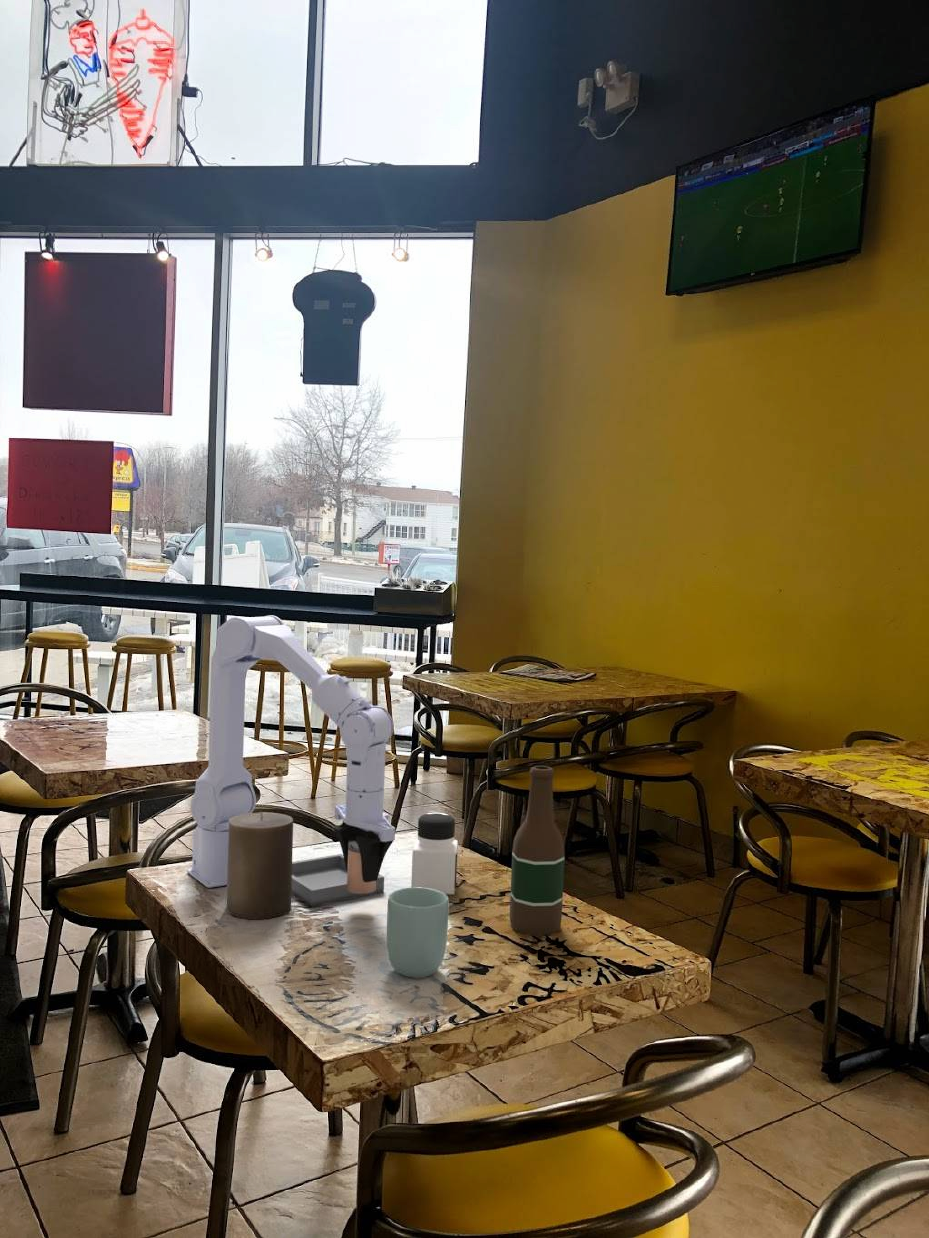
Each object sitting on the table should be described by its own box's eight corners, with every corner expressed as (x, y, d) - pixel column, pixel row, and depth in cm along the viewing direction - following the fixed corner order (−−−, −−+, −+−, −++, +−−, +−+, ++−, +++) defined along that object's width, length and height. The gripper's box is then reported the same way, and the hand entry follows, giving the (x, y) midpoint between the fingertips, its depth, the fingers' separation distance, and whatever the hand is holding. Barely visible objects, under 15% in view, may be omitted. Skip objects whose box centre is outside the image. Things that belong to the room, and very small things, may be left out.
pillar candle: (290, 919, 147) (294, 819, 146) (222, 920, 145) (226, 819, 145) (291, 897, 156) (294, 803, 156) (228, 898, 155) (231, 803, 154)
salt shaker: (341, 886, 152) (343, 838, 151) (366, 882, 154) (368, 834, 154) (356, 895, 148) (357, 846, 148) (381, 890, 151) (383, 842, 150)
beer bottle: (558, 939, 143) (566, 775, 142) (505, 933, 145) (512, 770, 143) (563, 920, 151) (571, 764, 149) (513, 914, 152) (519, 760, 151)
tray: (271, 880, 164) (271, 865, 164) (340, 868, 171) (341, 853, 171) (311, 906, 152) (312, 890, 152) (383, 892, 160) (384, 876, 160)
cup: (413, 954, 136) (416, 882, 135) (457, 971, 131) (460, 897, 130) (373, 971, 130) (376, 896, 129) (418, 989, 125) (420, 912, 124)
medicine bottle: (455, 895, 160) (458, 822, 159) (410, 893, 160) (413, 820, 159) (456, 880, 167) (459, 810, 166) (413, 879, 167) (416, 808, 167)
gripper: (413, 795, 147) (410, 885, 148) (363, 775, 158) (360, 859, 159) (372, 800, 143) (369, 893, 143) (324, 779, 154) (321, 865, 155)
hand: (361, 876), depth 151 cm, fingers closed on salt shaker, 4 cm apart
